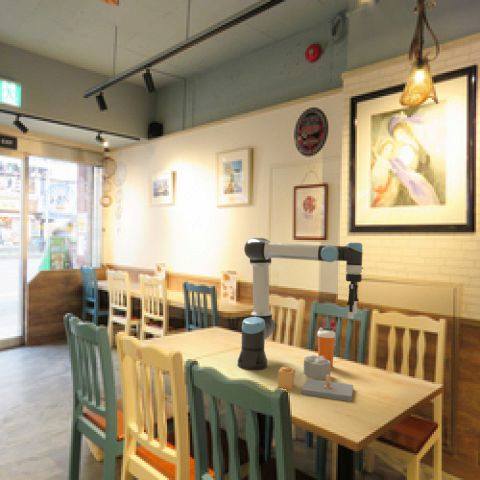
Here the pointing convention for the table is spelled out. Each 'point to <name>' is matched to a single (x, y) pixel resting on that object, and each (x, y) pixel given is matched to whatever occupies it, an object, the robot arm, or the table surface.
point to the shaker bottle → (326, 343)
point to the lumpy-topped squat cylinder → (316, 367)
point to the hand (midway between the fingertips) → (352, 316)
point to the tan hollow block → (286, 377)
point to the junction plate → (328, 389)
